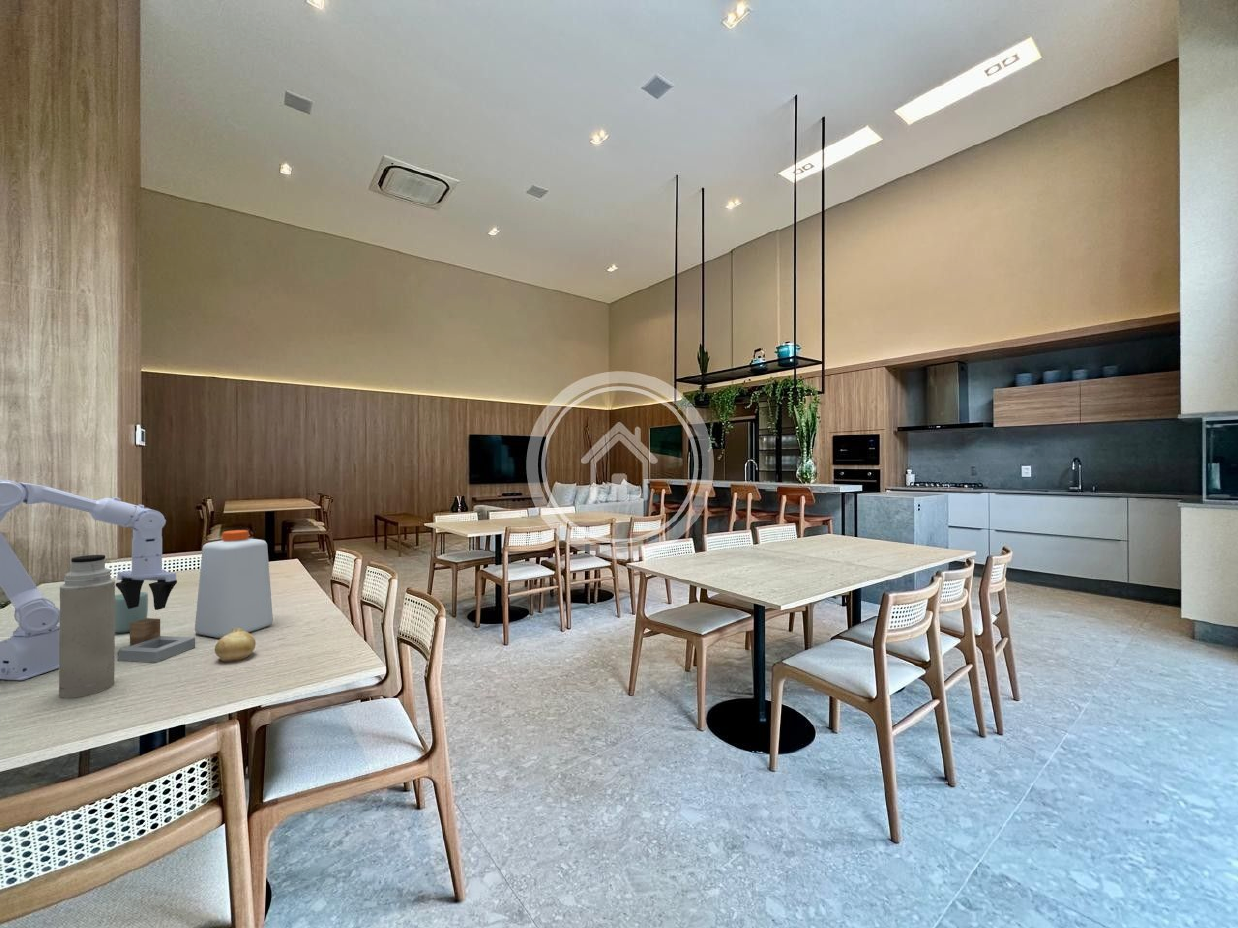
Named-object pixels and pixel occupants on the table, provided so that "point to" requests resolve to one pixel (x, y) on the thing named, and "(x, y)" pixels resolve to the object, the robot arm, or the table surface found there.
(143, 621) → the wooden rectangular block
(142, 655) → the grey flat square frame
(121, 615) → the cup
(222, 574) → the plastic bottle
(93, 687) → the thermos bottle
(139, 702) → the table surface
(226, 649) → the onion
